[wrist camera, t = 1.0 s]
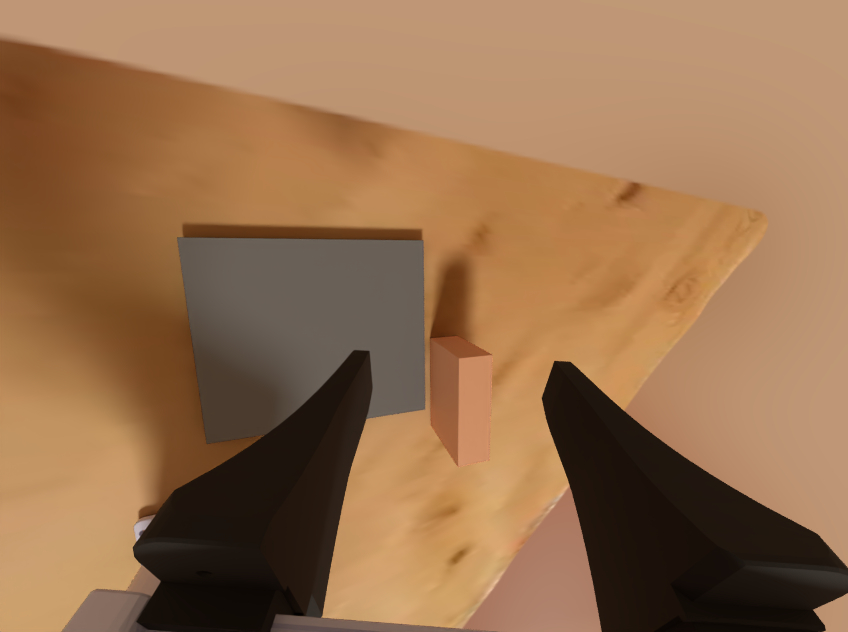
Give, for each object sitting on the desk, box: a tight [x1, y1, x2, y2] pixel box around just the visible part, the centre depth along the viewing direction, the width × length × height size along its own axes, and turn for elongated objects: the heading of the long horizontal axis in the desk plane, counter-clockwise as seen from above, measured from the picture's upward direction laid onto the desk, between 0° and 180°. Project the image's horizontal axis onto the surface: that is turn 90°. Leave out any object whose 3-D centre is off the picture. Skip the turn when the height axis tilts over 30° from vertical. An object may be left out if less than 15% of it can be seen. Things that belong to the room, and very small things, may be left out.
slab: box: [430, 336, 492, 467], centre depth 24 cm, size 8×2×6 cm, turn 0°
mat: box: [177, 237, 425, 444], centre depth 23 cm, size 14×16×1 cm
